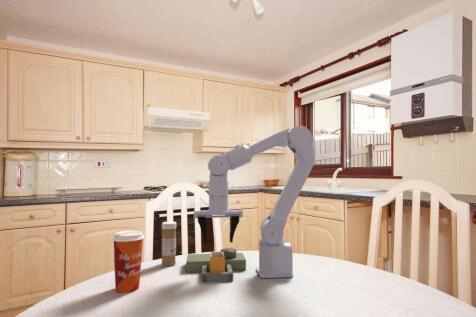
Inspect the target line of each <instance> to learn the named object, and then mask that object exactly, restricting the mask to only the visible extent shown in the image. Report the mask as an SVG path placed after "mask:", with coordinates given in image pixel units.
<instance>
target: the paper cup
mask: <svg viewBox="0 0 476 317" xmlns="http://www.w3.org/2000/svg"><path fill="white" fill-rule="evenodd" d="M144 238H145V235H144V233H143V231H141V230H123V231H117V232H115V233H114V235H113V237H112V241H113V257H114V259H113V262H114V263H113V264H114V282H115V283H114V284H115V292H117V293H119V294H127V293H128V294H129V293H132V292H135V291H137V290H138V289H139V288H140V279H141V269H142V268H141V267H142V256H143V255H142V254H143V243H144Z"/></svg>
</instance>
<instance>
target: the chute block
mask: <svg viewBox="0 0 476 317" xmlns="http://www.w3.org/2000/svg"><path fill="white" fill-rule="evenodd" d="M209 254H210V271H209V273H216V272H226V271H225V256H224V252H221V251H210V252H209Z"/></svg>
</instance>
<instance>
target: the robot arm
mask: <svg viewBox="0 0 476 317" xmlns="http://www.w3.org/2000/svg"><path fill="white" fill-rule="evenodd" d="M314 141H315V138H314V137H313V135H312V133H311V131H310V130H309V128H308V127H306V126H304V125H296V126H294V127H292V128H287V129H284V130H281V131H277V133H274V134H272V135H270V136H269V137H266V138H264V139H262V140H259V141H257V142H256V143H254V144H251V145H250V146H247V145H245V144H242V145H239V144H237V145H235V146H234V148H233V149H230V150H228V151H227V152H224V151H221V153H220V155H218V154H217V155H214V156H213V157H211V159H209V161H208V163H207V169H208V170H209V176H208V177H209V181H208V210H194V211H193V218H194V219H197V222H198V224H199V227H200V230H201V232H202V233H201V234H202V237H203V243H204V244H207V240H208V238H207V219H209V218H211V219H212V218H229V237H228V238H229V239H228V240H229V243H233V241H234V235H235V232H236V230H237V227H238V224H240V218H243V217H244V211H243V210H242V209H241V210H239V209H235V210H233V209H229V181H228V172H229V170H230V171H234V170H236V169H238V168H240V167H243V166H245V165H247V164H249V163H251V162H252V160H253V158H254V156H256V155H259V154H261V153H264V152H266V151H268V150H271V149H274V148H276V147H280V148H286V147H287V148H289V150H290V151H291V153H293V156H294V159H295V162H296V163H295V165H294V167H293V169H292V171H291V173H290V174H289V177H288V178H287V181H286V182H285V185H284V187H283V188H282V190H281V193H280V194H279V197H278V199H277V201H276V202H275V204H274V206H273V208H272V210H270V212H269V214H268V216H267V217H266V218H264V219H263V220H262V222H261V223H260V236H261V238H260V239H259V241H258V245H259V246H258V248H259V249H258V250H259V251H258V253H259V254H258V258H259V259H258V262H259V263H258V267H255V270H256V272H257V274H258V276H259V278H261V279H273V278H274V279H275V278H293V277H294V272H293V271H294V270H293V268H294V267H293V266H294V265H293V248H292V245H291V243H290V242H285V241H284V239H283V237H284V229H285V226H286V224H287V221H288V217H289V215H290V213H291V211H292V208H293V207H294V205H295V203H296V201H297V199H298V197H299V195H300V193H301V190H302V189H303V187H304V185H305V183H306V182H307V179H308V177H309V175H310V174H311V171H312V170H313V168H314V165H315V164H316V157H315V146H314V144H315V143H314Z"/></svg>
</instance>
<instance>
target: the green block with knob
mask: <svg viewBox="0 0 476 317" xmlns="http://www.w3.org/2000/svg"><path fill="white" fill-rule="evenodd" d="M220 252H224V256H225V272H216V273H210V253H190V254H189V253H188V254H187V256H186V261H185V262H186V263H185V272H186V273H193V272H195V273H196V272H198V273H199V272H201V281H202V282H201V283H211V282H212V283H213V282H214V283H215V282H233V281H234V271H246V270H247V259H246V256H244V253H243V252H237V249H236V248H232V247H230V248H229V247H227V248H226V247H225V248H222V249H220Z"/></svg>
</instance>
